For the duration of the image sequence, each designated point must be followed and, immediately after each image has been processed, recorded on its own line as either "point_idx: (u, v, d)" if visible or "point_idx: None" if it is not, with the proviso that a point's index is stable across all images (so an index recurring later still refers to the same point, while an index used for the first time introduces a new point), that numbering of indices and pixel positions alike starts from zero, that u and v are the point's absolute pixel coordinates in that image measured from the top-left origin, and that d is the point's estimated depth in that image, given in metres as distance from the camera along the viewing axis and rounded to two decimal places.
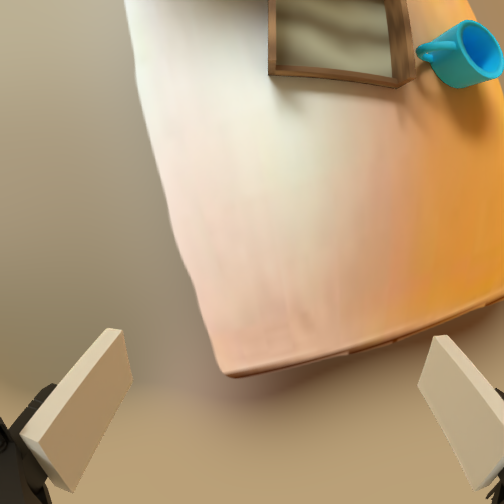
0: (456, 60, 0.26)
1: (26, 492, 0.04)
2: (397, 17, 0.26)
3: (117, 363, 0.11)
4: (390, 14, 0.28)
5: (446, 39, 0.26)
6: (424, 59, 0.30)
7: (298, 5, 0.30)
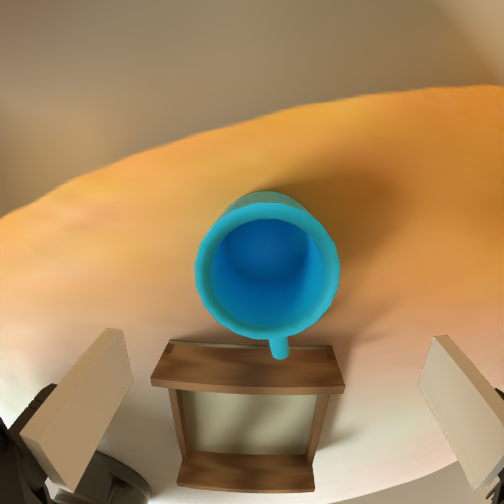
0: None
1: (26, 492, 0.04)
2: None
3: (117, 363, 0.11)
4: None
5: None
6: None
7: (220, 437, 0.30)
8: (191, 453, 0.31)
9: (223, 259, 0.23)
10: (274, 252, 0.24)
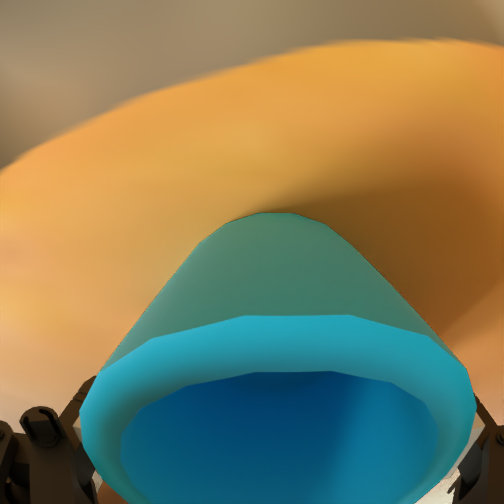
0: None
1: (76, 490, 0.05)
2: None
3: None
4: None
5: None
6: None
7: None
8: None
9: None
10: None
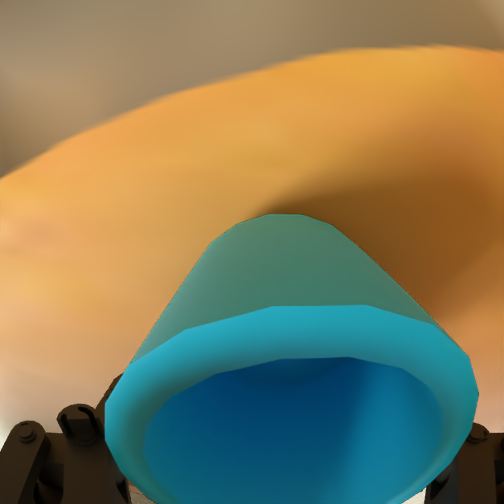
0: None
1: (113, 489, 0.05)
2: None
3: None
4: None
5: None
6: None
7: None
8: None
9: None
10: None
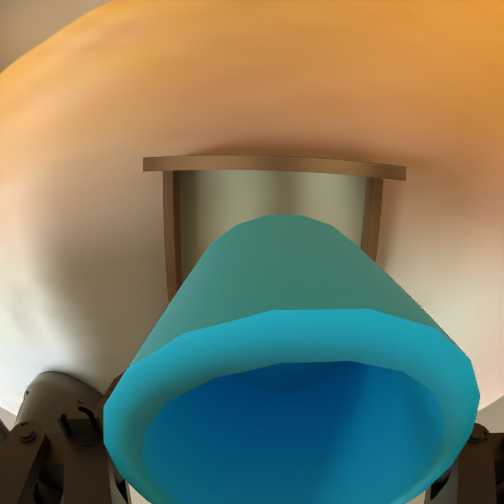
0: None
1: (113, 489, 0.05)
2: None
3: None
4: None
5: None
6: None
7: None
8: None
9: None
10: None
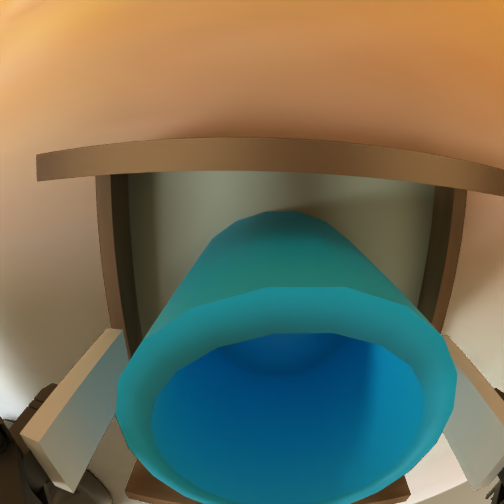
0: None
1: (26, 492, 0.04)
2: None
3: (117, 363, 0.11)
4: None
5: None
6: None
7: None
8: None
9: None
10: None
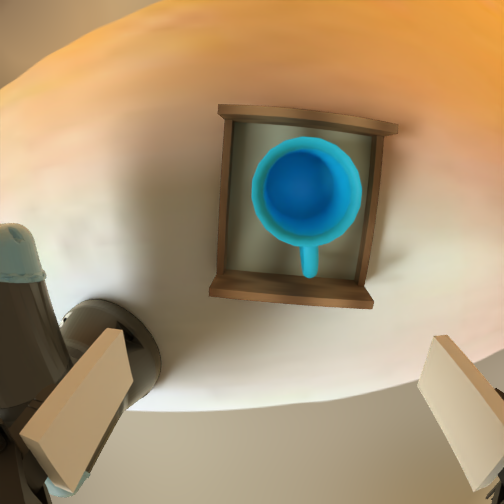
0: None
1: (26, 492, 0.04)
2: (291, 120, 0.25)
3: (117, 363, 0.11)
4: (273, 122, 0.27)
5: None
6: None
7: (264, 243, 0.32)
8: (227, 271, 0.32)
9: (266, 191, 0.27)
10: (306, 192, 0.29)
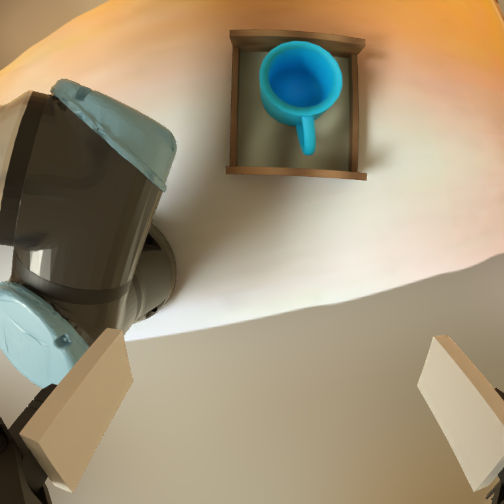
0: (321, 113, 0.29)
1: (26, 492, 0.04)
2: (284, 42, 0.29)
3: (117, 363, 0.11)
4: (270, 47, 0.31)
5: (291, 118, 0.30)
6: None
7: (268, 142, 0.36)
8: (238, 166, 0.36)
9: None
10: (300, 96, 0.33)
